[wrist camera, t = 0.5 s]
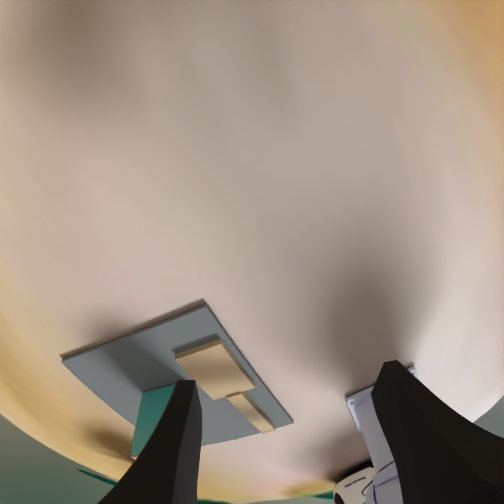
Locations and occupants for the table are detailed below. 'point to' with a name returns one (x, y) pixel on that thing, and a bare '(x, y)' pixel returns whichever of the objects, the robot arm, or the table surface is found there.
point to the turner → (223, 379)
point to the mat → (170, 373)
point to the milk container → (354, 486)
